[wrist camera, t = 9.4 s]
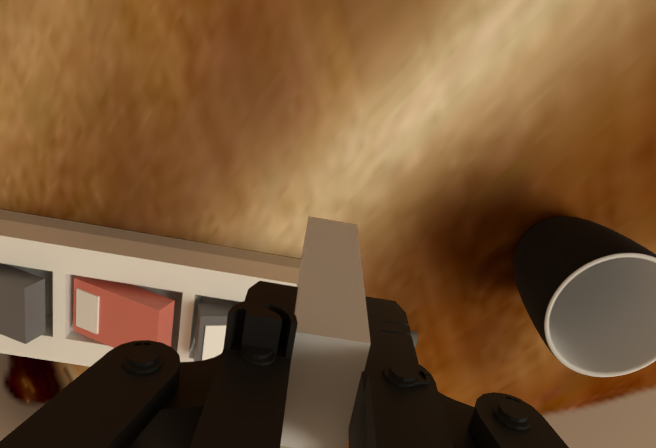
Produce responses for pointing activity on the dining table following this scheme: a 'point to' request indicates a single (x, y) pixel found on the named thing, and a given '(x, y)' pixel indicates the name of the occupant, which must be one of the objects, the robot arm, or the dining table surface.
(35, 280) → the rocker
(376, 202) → the dining table surface
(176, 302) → the strip
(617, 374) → the mug
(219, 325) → the rocker
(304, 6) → the dining table surface
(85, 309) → the rocker mid
